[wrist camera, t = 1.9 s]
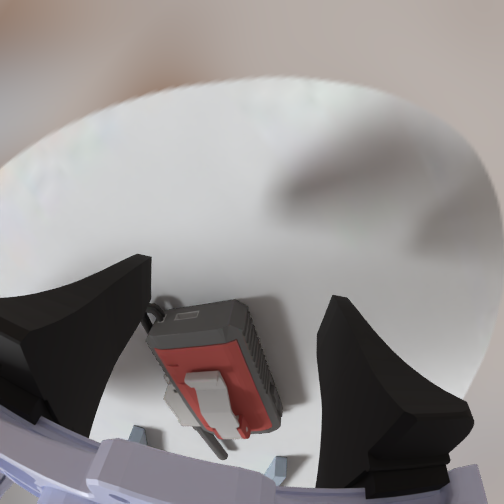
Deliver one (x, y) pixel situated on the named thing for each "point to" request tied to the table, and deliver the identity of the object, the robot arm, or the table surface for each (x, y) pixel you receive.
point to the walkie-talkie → (214, 371)
